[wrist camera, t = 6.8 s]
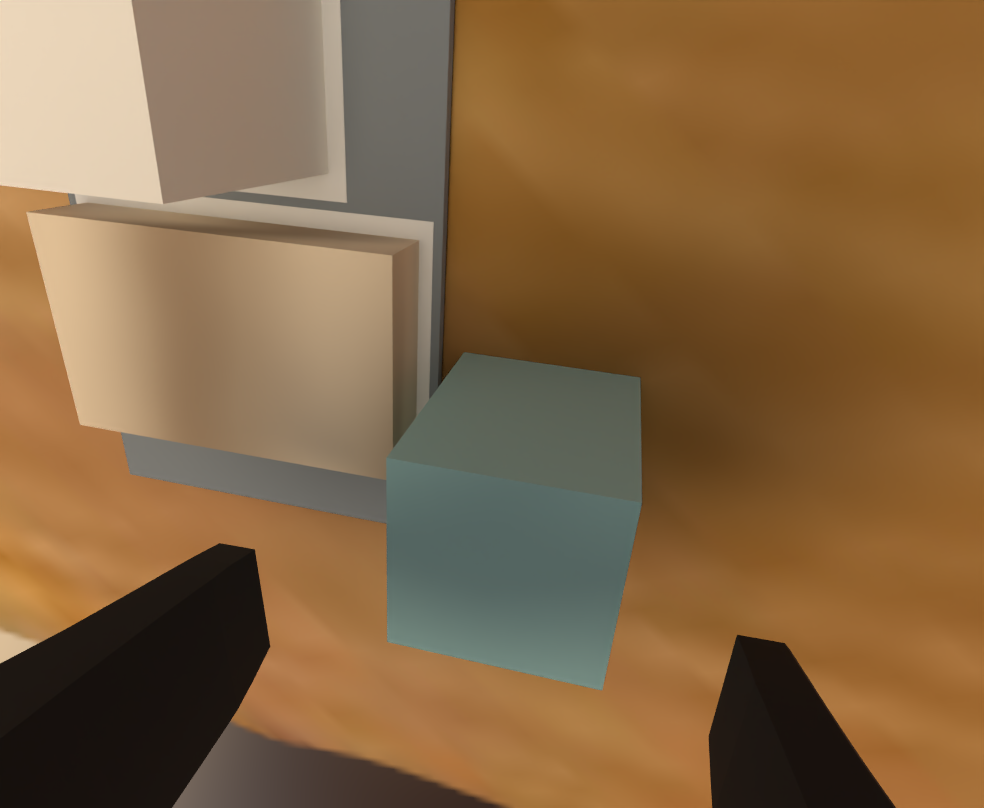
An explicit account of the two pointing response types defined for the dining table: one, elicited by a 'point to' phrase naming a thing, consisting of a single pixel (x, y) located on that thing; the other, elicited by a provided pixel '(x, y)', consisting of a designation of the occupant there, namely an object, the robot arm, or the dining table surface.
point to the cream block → (160, 96)
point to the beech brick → (235, 332)
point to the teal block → (515, 517)
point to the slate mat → (347, 220)
